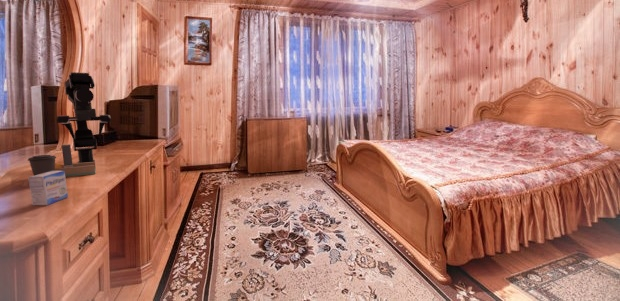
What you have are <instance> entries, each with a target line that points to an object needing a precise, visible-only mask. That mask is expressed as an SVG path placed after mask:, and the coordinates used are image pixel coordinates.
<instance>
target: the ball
mask: <svg viewBox="0 0 620 301" xmlns="http://www.w3.org/2000/svg"><path fill="white" fill-rule="evenodd" d="M56 168H63V166H62V164H61V163H59V162H55V169H56Z"/></svg>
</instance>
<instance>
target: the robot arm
mask: <svg viewBox="0 0 620 301" xmlns="http://www.w3.org/2000/svg"><path fill="white" fill-rule="evenodd" d="M95 86H96V85H95V82H94V79H93V76H92V75H90V73H89V72H76V71H71V72H70V74H68V79H66V81H65V82H64V91H65V95H67V99H68V100H69V102H70V103H72V107H73V112H74V116H70V115H57V117H56V123H57V124H61V125H62V126H65V127H66V129H67V130H68V132H69V134H70V135H71V138H72V144H73V145H72V146H73V147H72V148H73V151H74V152H77V156H78V160H77V163H86V162H95V163H96V160H95V159H94V152H93V150H98V140H97V139H96V137H95V136H94V133H93V130H92V129H90V128H89V126H88V123H87V121H88V122H89V121H90V122H92V121H93V122H94V121H95V122H96V121H99V126H98V127H99V128H98V138H99V139H101V136H102V132H103V128H104V127H105V125H107V124H108V122H111V121H112V120H111V115H110V114H99V115H98V116H97V112H96V108H93V107H92V101H93V100H94V97H95V96H94V93H93V91H92V90H93V89H95ZM72 122H75V124H76V125H75V126H76V130H75V131H74V128H73V124H72Z"/></svg>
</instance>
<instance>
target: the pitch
mask: <svg viewBox="0 0 620 301" xmlns="http://www.w3.org/2000/svg"><path fill="white" fill-rule="evenodd" d="M61 165H62V166H63V168H56V169H55V171H65V178H66V177H67V178H69V177H79V176H86V175H87V176H88V175H96V171H97V167H96V161H95V162H86V163H78V162H77V163H73V167H67V168H64V163H63V164H61Z"/></svg>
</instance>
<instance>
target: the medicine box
mask: <svg viewBox="0 0 620 301" xmlns="http://www.w3.org/2000/svg"><path fill="white" fill-rule="evenodd" d="M27 179H28V184H29V185H28V186H29V191H30V198H31V204H32V206H50V205H52V204H54V203H58V202H59V201H61V200H64V199H67V198H68V188H67V187H68V186H67V181H66V177H65V171H49V172H46V173H42V174H38V175H35V176H34V175H32V176H31V175H30V176H29V177H28V178H27Z"/></svg>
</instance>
